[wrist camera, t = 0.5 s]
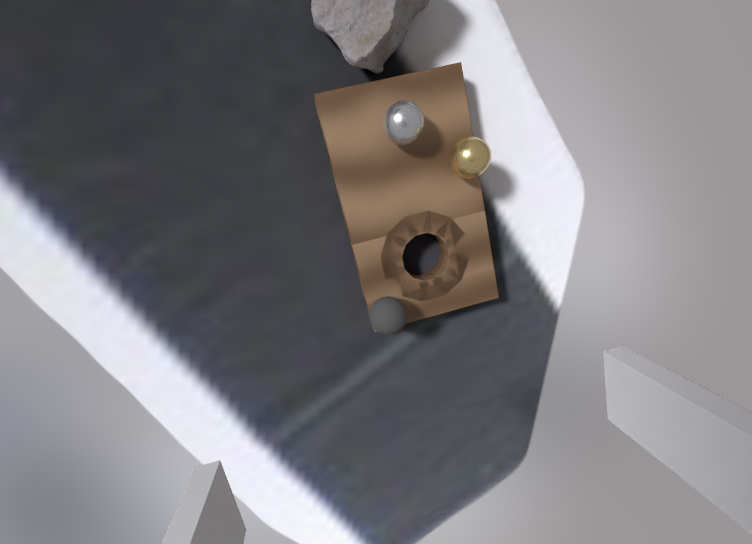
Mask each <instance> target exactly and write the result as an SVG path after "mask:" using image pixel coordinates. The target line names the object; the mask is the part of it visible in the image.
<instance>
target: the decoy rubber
mask: <svg viewBox="0 0 752 544" xmlns="http://www.w3.org/2000/svg"><path fill="white" fill-rule="evenodd" d="M369 320H370V323H371V325H372V326H373V328H374V329H375V330H376V331H378V332H379V333H382V334H386V335H390V334H394V333H397V332H398V331H400V330H401V329H402V328H403V327H404V325H405V323H406V320H407V311H406V308H405V306H404V305H403V303H402V302H401V301H400V300H398V299H397V298H394V297H390V296H386V297H382V298H379V299H378V300H376V301H375V302H374V303H373V304H372V306H371V308H370V311H369Z"/></svg>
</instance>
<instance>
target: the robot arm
mask: <svg viewBox="0 0 752 544" xmlns="http://www.w3.org/2000/svg"><path fill="white" fill-rule="evenodd" d="M603 354H604V370H605V384H606V399H607V414H608V420H609V421H610V422H612V423H613V424H614V425H615V426H617V427H618V428H619V429H620V430H622V431H623V432H624V433H625V434H627V435H628V436H629V437H630V438H632V439H633V440H634V441H635V442H637V443H638V444H639V445H641V446H642V447H643V448H644V449H646V450H647V451H648V452H649V453H650V454H652V455H653V456H654V457H656V458H657V459H658V460H659V461H661V462H662V463H663V464H664V465H665V466H667V467H668V468H669V469H670V470H672V471H673V472H675V474H677V475H678V476H679V477H680V478H682V479H683V480H684V481H686V482H687V483H688V484H689V485H691V486H692V487H693V488H694V489H696V490H697V491H698V492H699V493H701V494H702V495H703V496H704V497H706V498H707V499H708V500H709V501H711V502H712V503H713V504H714V505H716V506H717V507H718V508H719V509H721V510H722V511H723V512H724V513H726V514H727V515H728V516H729V517H731V518H732V519H733V520H734V521H736V522H737V523H738V524H739V525H741V526H742V527H743V528H744V529H746V530H747V531H748V532H749V533H751V534H752V412H751V411H749V410H747V409H745V408H743V407H741V406H739V405H737V404H735V403H733V402H731V401H729V400H727V399H725V398H724V397H721V396H720V395H718V394H716V393H714V392H712V391H710V390H708V389H706V388H704V387H702V386H700V385H698V384H696V383H694V382H693V381H690V380H689V379H687V378H685V377H683V376H681V375H679V374H677V373H675V372H673V371H671V370H669V369H667V368H665V367H664V366H662V365H659V364H658V363H656V362H654V361H652V360H650V359H648V358H645V357H644V356H642V355H640V354H638V353H636V352H634V351H633V350H631V349H629V348H627V347H625V346H621V347H617V348H614V349H610V350H607V351H603ZM245 532H246V528H245V526H244V523H243V520H242V517H241V515H240V512H239V509H238V507H237V504H236V501H235V499H234V496H233V493H232V491H231V488H230V485H229V483H228V480H227V477H226V475H225V472H224V469H223V467H222V464H221V461H216V462H213V463H209V464H205V465H202V466H198V467H195V469H194V471H193V474H192V476H191V478H190V480H189V483H188V485H187V487H186V489H185V492H184V494H183V496H182V498H181V501H180V503H179V505H178V507H177V510H176V512H175V514H174V517H173V519H172V521H171V523H170V526H169V528H168V530H167V532H166V535H165V537H164V539H163V542H162V544H243V542H244V537H245Z"/></svg>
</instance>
